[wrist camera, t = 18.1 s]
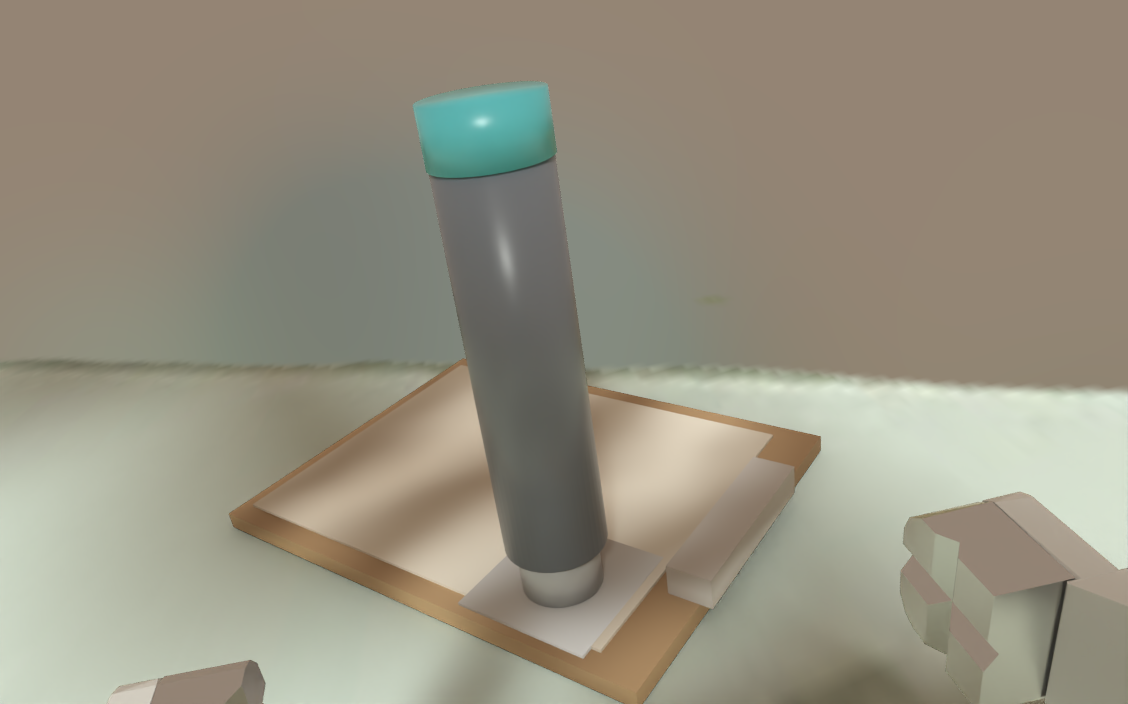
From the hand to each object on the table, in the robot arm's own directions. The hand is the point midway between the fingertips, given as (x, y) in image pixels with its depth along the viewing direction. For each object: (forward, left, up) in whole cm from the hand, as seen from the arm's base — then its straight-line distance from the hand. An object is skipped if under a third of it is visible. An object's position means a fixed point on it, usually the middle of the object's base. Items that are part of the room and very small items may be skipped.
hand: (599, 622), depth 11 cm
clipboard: (-13, +13, -10) cm, 21 cm away
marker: (-8, +9, -9) cm, 15 cm away
